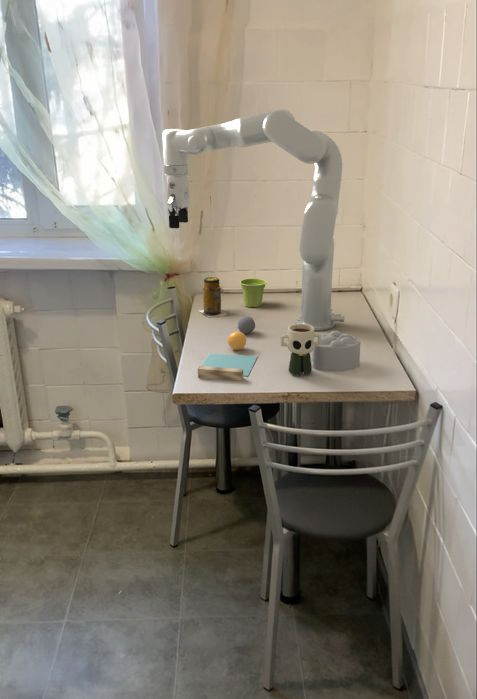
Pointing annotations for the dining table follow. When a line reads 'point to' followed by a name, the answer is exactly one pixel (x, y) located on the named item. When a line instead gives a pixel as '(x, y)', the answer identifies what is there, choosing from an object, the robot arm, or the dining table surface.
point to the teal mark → (231, 362)
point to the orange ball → (237, 340)
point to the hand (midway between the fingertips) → (178, 225)
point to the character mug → (300, 347)
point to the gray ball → (246, 325)
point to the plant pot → (253, 291)
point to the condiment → (212, 298)
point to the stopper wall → (220, 373)
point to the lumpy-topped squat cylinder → (336, 352)
